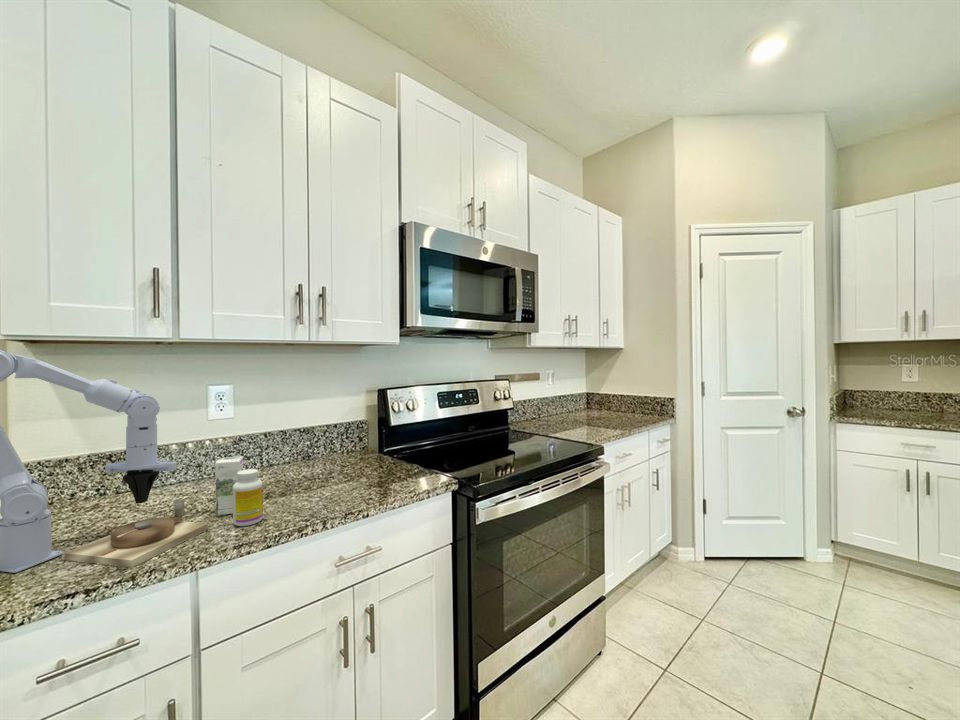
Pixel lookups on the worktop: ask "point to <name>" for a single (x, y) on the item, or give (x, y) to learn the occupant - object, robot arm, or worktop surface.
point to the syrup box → (226, 483)
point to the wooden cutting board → (135, 555)
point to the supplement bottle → (247, 498)
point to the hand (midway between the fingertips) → (141, 501)
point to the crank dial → (147, 529)
